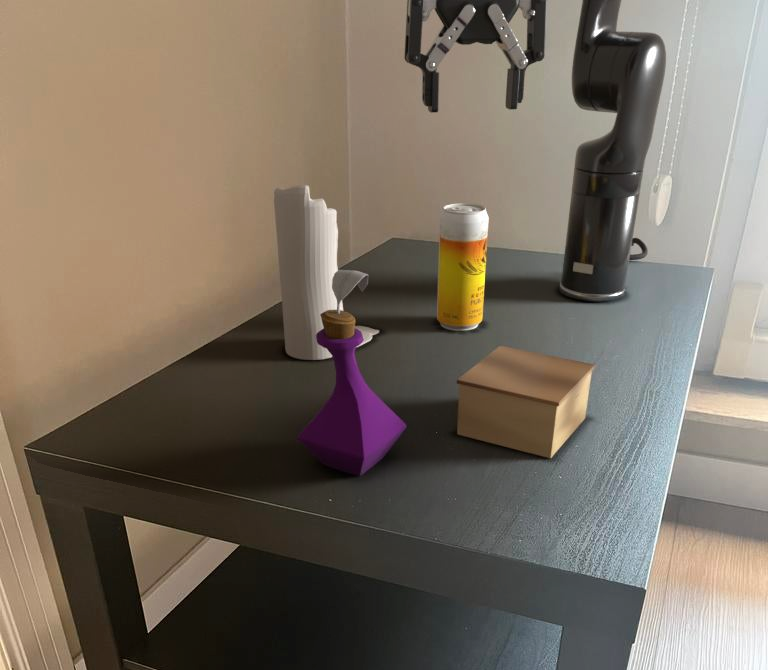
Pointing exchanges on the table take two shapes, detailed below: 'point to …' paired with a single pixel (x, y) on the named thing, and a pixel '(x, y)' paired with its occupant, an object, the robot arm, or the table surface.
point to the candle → (307, 269)
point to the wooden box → (523, 400)
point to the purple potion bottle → (349, 396)
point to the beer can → (462, 265)
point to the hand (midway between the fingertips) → (472, 110)
